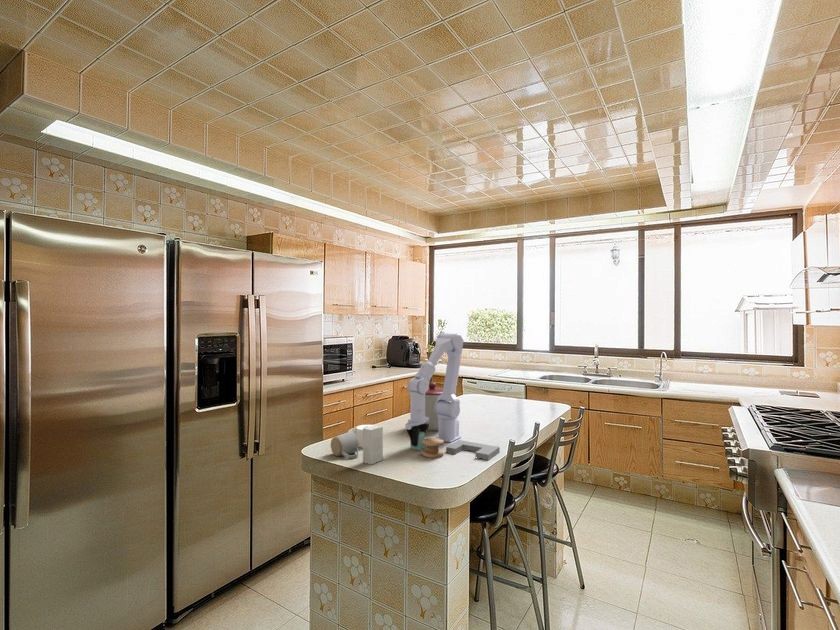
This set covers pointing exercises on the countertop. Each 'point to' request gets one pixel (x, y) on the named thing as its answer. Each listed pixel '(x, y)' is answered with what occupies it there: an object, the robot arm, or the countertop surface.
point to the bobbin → (432, 447)
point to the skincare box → (372, 444)
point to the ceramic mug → (345, 445)
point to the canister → (432, 405)
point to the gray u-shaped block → (474, 449)
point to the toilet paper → (359, 433)
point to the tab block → (419, 441)
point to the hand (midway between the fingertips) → (417, 444)
